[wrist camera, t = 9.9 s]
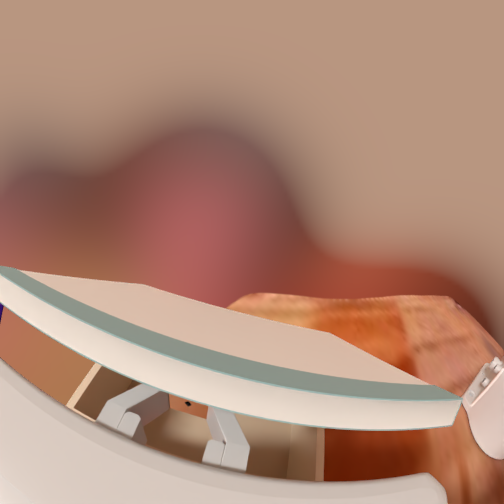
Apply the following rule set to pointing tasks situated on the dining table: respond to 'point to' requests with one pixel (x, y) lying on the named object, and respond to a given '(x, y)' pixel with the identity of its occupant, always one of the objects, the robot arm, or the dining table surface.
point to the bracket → (1, 310)
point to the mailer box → (198, 434)
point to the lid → (225, 355)
